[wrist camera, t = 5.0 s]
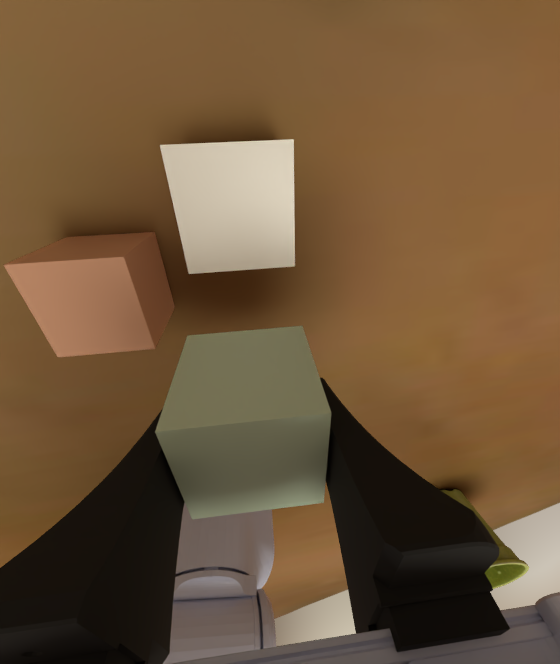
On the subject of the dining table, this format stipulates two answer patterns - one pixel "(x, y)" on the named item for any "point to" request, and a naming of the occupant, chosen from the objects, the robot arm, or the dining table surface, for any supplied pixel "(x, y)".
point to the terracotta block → (97, 292)
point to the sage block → (246, 423)
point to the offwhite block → (233, 203)
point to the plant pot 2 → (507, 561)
